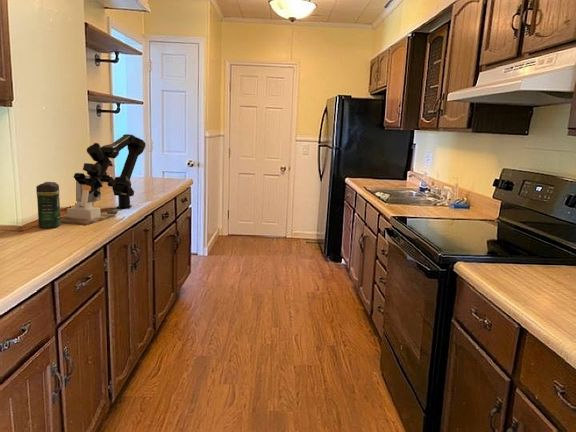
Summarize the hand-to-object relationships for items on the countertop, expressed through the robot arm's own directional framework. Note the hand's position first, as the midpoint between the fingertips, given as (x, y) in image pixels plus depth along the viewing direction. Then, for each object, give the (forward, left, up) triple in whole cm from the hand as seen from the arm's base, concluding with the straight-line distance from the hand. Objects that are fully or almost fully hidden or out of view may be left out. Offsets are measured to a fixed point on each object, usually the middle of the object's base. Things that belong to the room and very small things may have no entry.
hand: (87, 194), depth 205 cm
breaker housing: (+3, -1, -11) cm, 11 cm away
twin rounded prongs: (-10, +4, -11) cm, 16 cm away
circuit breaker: (-25, -8, -11) cm, 29 cm away
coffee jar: (+18, -10, -11) cm, 23 cm away
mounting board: (+3, -1, -11) cm, 11 cm away
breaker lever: (+3, -1, -5) cm, 6 cm away
